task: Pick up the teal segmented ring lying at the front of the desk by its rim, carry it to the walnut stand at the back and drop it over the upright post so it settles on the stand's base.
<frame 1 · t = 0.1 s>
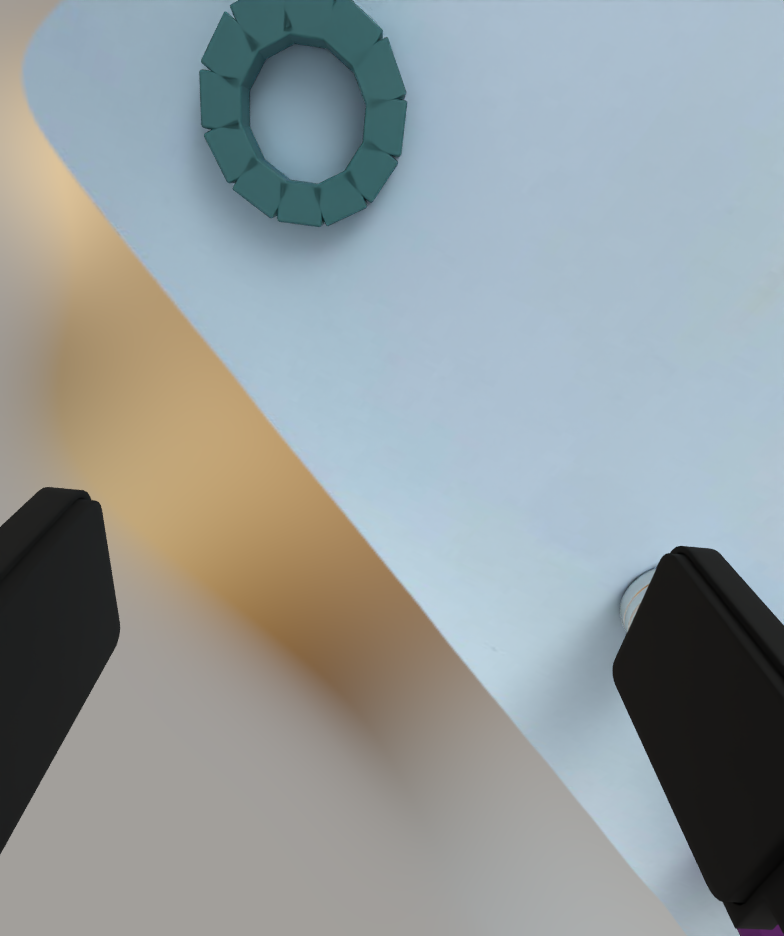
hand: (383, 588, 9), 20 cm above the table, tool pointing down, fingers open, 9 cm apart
mug: (783, 833, 51), on the table
water bottle: (665, 596, 36), on the table
teal segmented ring: (308, 117, 23), on the table
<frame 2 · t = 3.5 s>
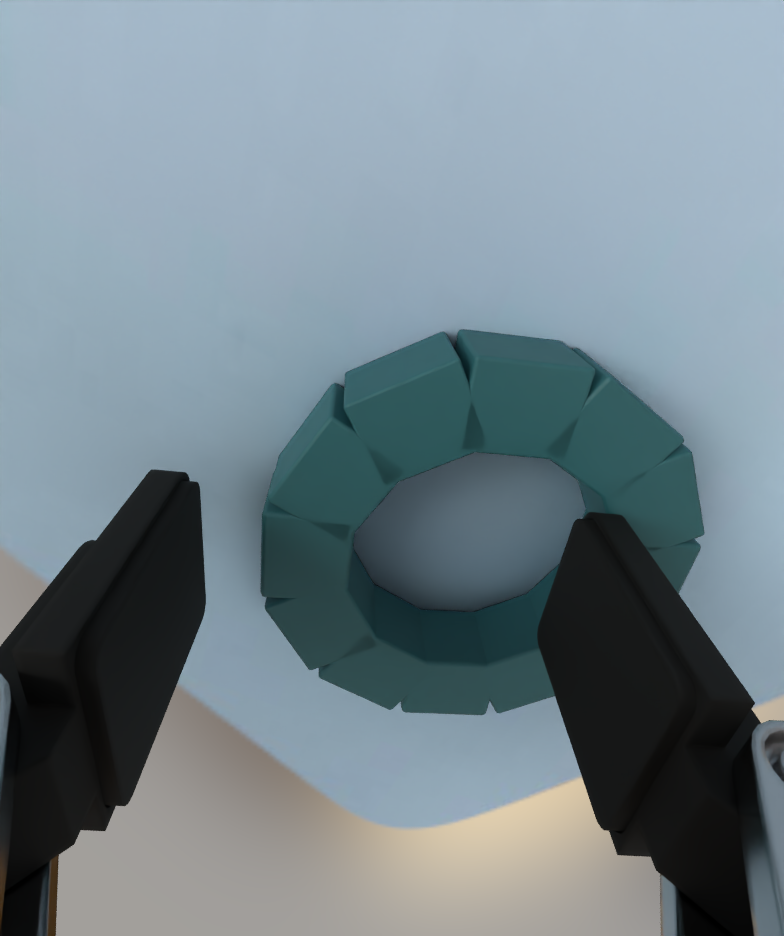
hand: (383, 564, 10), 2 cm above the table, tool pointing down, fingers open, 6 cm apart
teal segmented ring: (466, 523, 11), on the table, touching gripper
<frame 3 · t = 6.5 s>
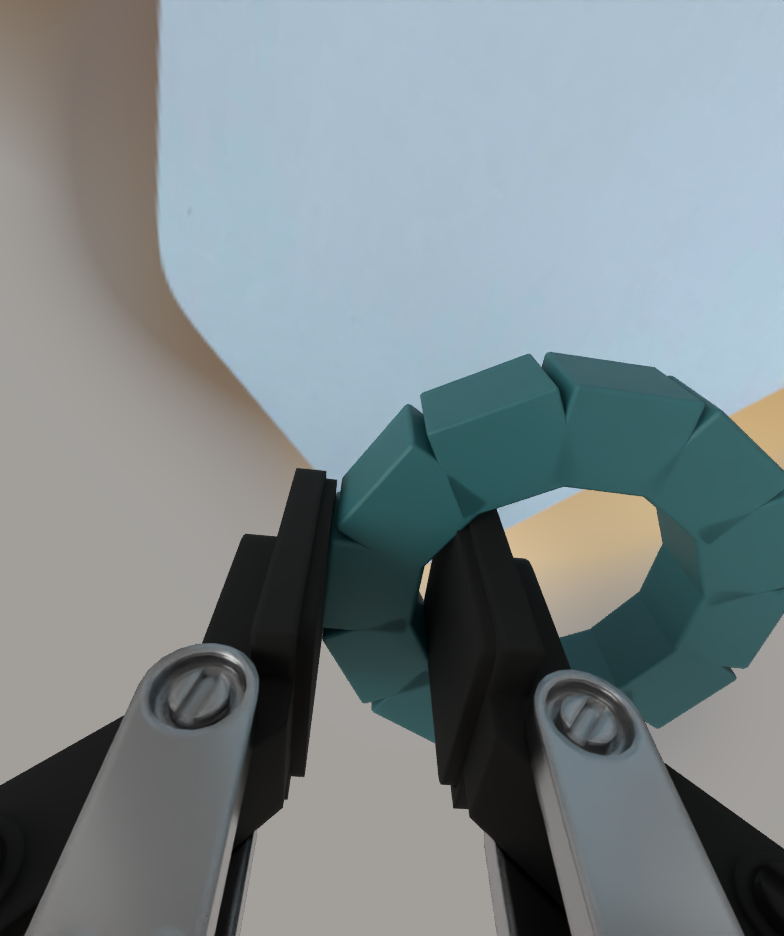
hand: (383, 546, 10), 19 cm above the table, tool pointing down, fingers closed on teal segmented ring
teal segmented ring: (533, 553, 11), point 19 cm above the table, touching gripper
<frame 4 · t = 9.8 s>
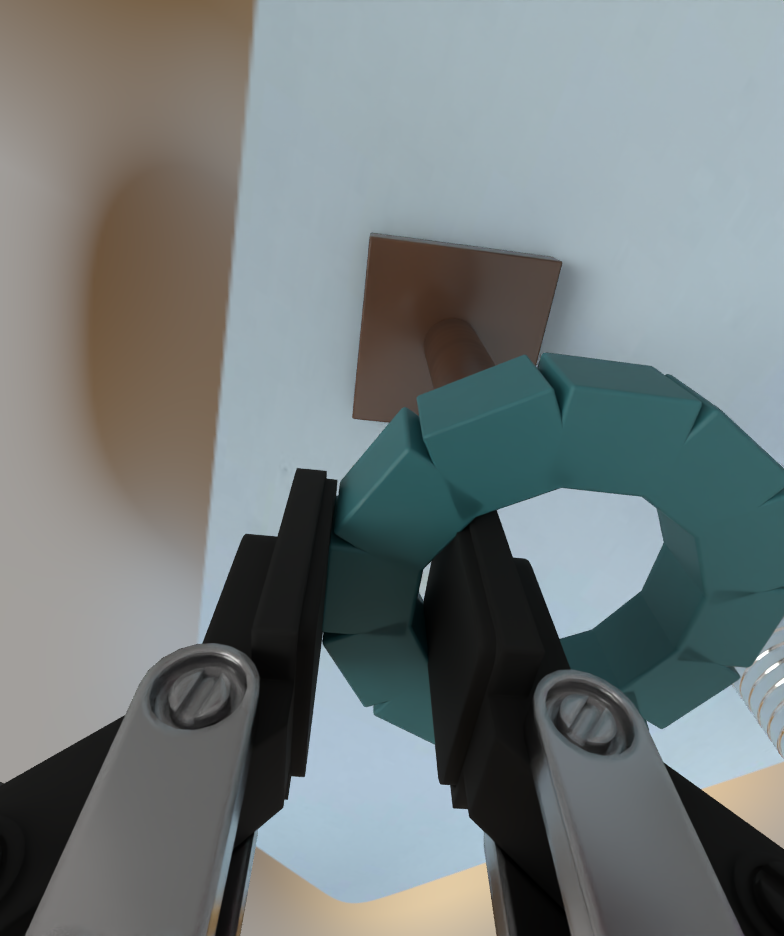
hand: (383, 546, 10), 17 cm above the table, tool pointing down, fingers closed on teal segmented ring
stand: (446, 336, 25), on the table
water bottle: (764, 636, 35), on the table
teal segmented ring: (533, 554, 11), point 16 cm above the table, touching gripper
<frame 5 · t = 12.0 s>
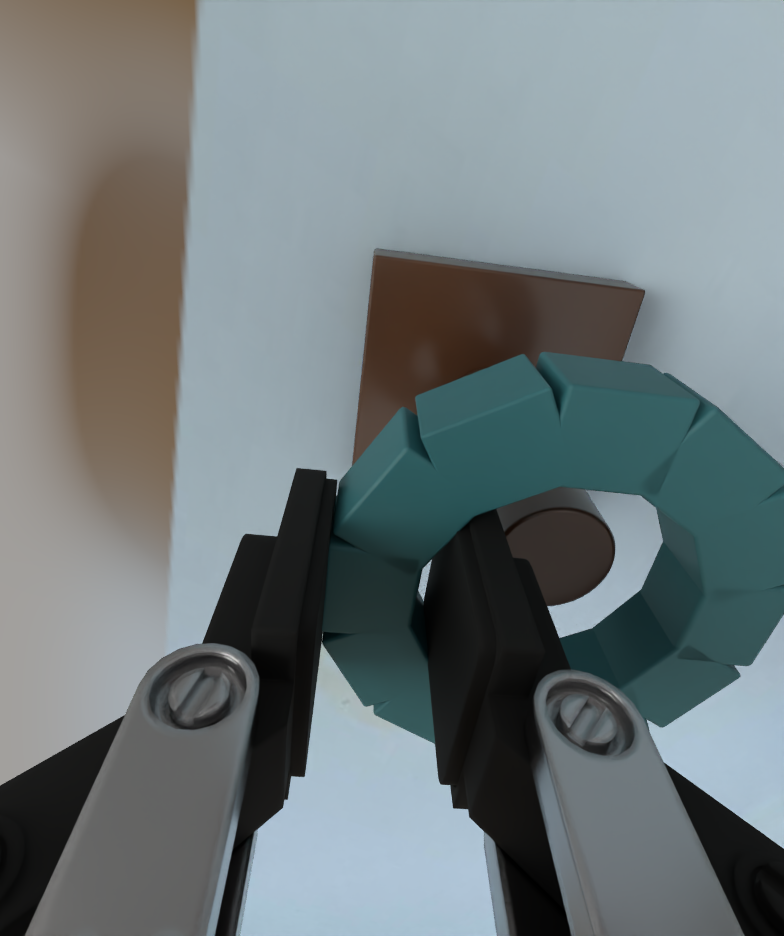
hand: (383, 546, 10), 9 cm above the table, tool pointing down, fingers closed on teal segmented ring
stand: (477, 386, 19), on the table
teal segmented ring: (533, 554, 11), point 9 cm above the table, touching gripper
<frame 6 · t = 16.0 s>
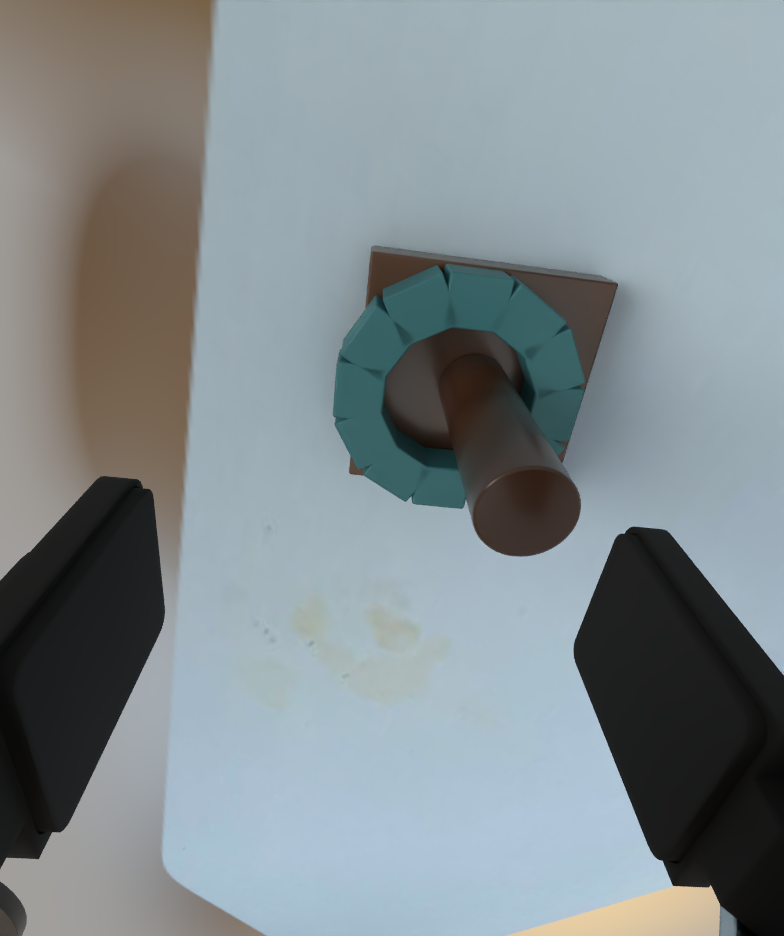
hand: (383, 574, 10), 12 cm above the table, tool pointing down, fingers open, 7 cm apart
stand: (466, 373, 20), on the table
teal segmented ring: (452, 386, 19), point 1 cm above the table, touching stand
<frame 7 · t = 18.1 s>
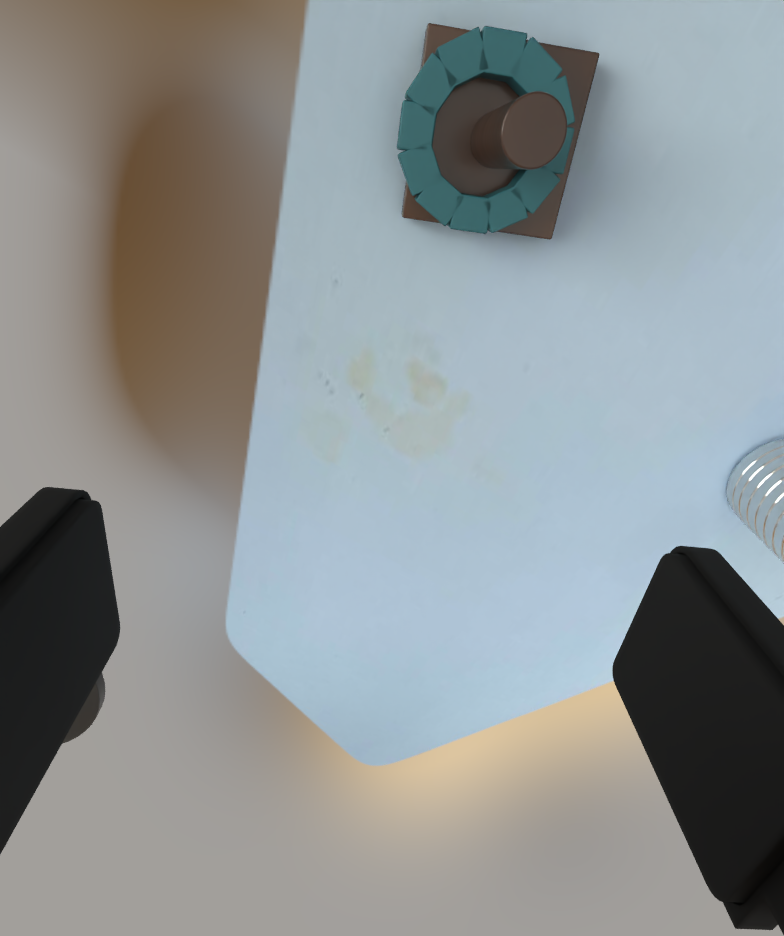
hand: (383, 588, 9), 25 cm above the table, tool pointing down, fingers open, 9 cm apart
stand: (489, 141, 28), on the table
water bottle: (770, 476, 38), on the table
teal segmented ring: (480, 139, 26), point 1 cm above the table, touching stand
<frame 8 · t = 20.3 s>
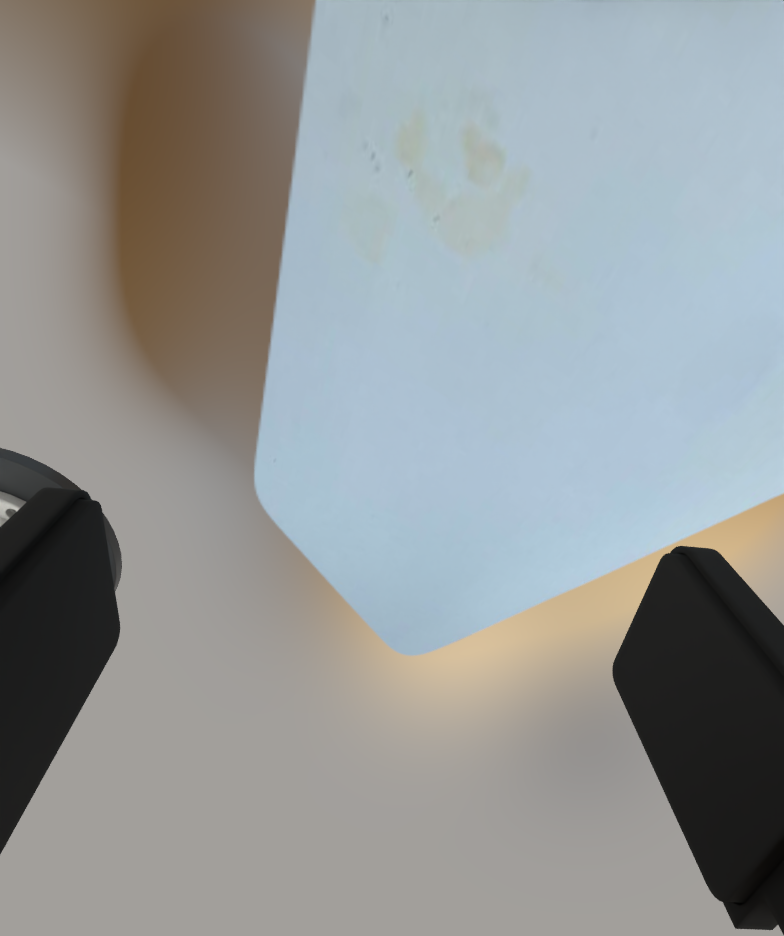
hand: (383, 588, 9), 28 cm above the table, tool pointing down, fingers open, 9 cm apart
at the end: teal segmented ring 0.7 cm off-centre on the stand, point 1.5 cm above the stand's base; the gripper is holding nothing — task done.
